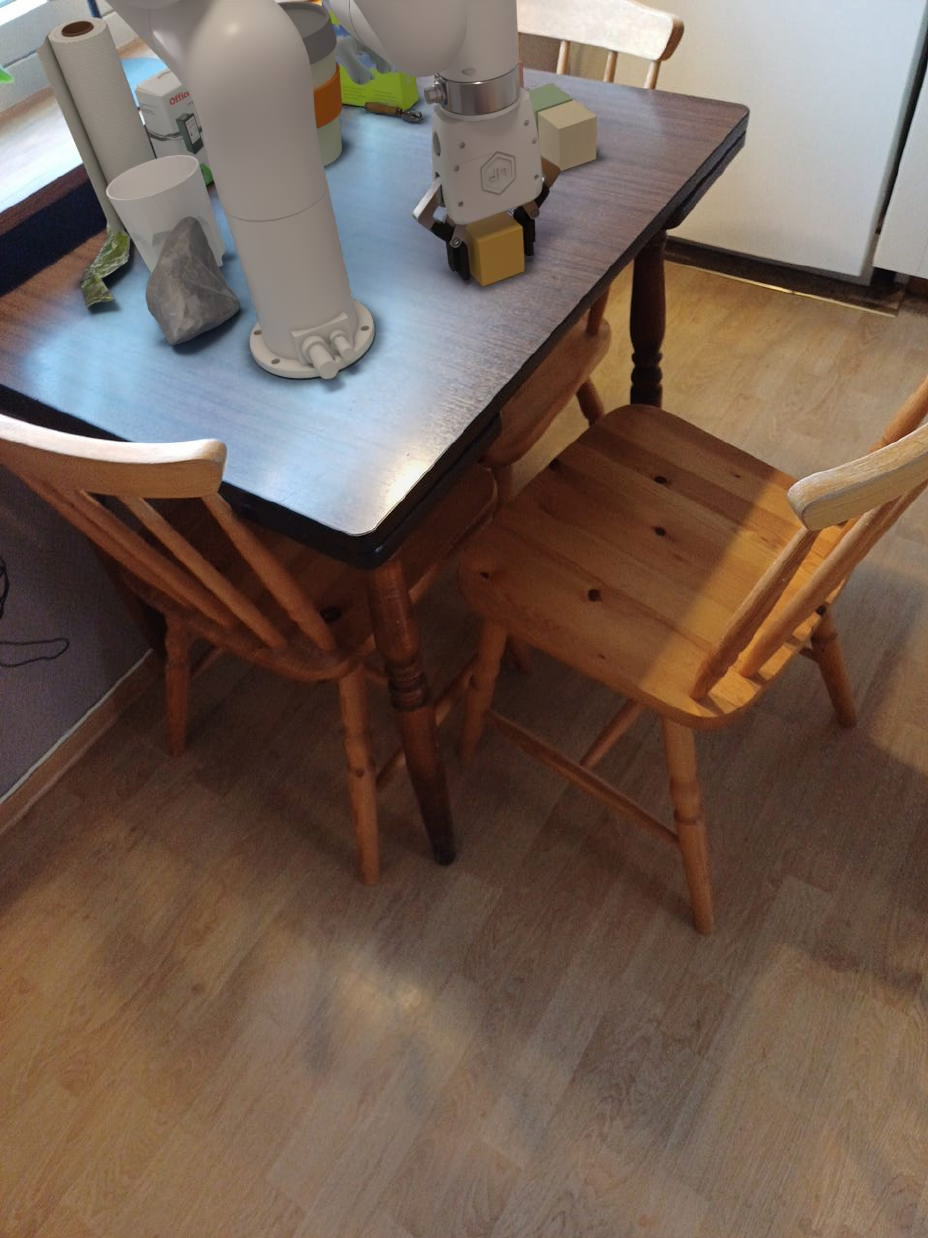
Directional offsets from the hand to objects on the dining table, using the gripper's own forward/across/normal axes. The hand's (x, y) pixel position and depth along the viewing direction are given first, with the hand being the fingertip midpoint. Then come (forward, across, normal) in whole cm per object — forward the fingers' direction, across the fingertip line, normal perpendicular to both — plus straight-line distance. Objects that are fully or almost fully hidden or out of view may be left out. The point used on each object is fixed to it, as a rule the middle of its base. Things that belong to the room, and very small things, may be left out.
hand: (492, 260), depth 100 cm
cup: (0, -28, +19) cm, 34 cm away
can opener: (+1, +5, +38) cm, 38 cm away
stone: (+1, -26, +10) cm, 28 cm away
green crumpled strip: (-1, -34, +28) cm, 44 cm away
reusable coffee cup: (+1, -8, +36) cm, 37 cm away
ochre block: (+1, 0, 0) cm, 1 cm away
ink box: (+1, -21, +39) cm, 44 cm away
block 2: (+1, +18, +16) cm, 24 cm away
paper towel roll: (+1, -30, +31) cm, 43 cm away
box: (+1, +5, +43) cm, 43 cm away
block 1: (+1, +18, +21) cm, 28 cm away
